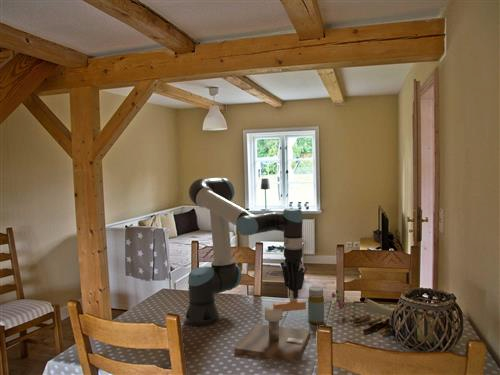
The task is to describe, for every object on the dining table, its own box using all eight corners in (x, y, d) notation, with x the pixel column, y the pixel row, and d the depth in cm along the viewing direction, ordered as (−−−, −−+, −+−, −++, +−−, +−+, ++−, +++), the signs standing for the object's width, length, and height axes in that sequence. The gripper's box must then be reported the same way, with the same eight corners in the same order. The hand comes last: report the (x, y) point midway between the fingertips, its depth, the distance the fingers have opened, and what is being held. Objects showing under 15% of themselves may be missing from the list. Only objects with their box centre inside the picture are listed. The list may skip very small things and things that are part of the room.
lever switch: (267, 322, 154) (267, 307, 154) (262, 315, 161) (262, 301, 161) (308, 318, 158) (308, 304, 157) (302, 311, 165) (302, 298, 164)
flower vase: (405, 343, 174) (325, 317, 185) (406, 325, 184) (330, 301, 195) (411, 322, 169) (329, 296, 180) (412, 304, 180) (335, 281, 191)
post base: (234, 353, 152) (234, 327, 151) (254, 328, 174) (254, 305, 174) (297, 362, 144) (297, 335, 143) (310, 335, 166) (309, 311, 166)
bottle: (324, 325, 177) (323, 291, 176) (307, 324, 178) (307, 290, 177) (324, 319, 183) (324, 286, 182) (308, 318, 185) (308, 285, 184)
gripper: (275, 246, 164) (275, 303, 165) (297, 251, 153) (298, 312, 155) (288, 243, 168) (289, 299, 170) (311, 248, 158) (311, 307, 159)
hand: (293, 305), depth 162 cm, fingers closed
